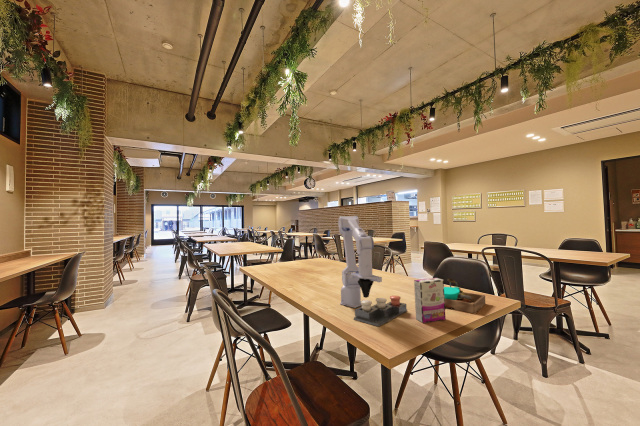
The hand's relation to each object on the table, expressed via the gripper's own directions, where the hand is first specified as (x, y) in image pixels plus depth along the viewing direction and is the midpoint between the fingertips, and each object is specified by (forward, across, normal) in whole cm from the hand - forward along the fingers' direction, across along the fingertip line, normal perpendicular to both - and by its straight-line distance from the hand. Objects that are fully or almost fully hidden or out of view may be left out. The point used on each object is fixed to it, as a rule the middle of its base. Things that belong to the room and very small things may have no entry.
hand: (366, 297), depth 115 cm
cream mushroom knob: (+6, 0, 0) cm, 6 cm away
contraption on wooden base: (+9, +22, +42) cm, 49 cm away
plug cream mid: (+6, +3, +7) cm, 10 cm away
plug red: (+6, +6, +14) cm, 16 cm away
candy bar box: (+9, +21, +15) cm, 27 cm away
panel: (+9, +3, +7) cm, 12 cm away
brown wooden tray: (+9, +22, +43) cm, 49 cm away
